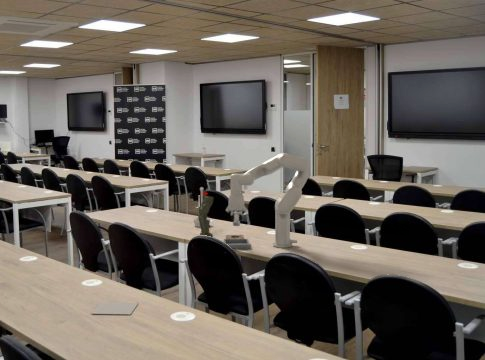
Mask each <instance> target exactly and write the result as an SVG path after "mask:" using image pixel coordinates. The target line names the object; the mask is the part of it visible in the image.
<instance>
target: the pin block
mask: <svg viewBox="0 0 485 360" xmlns="http://www.w3.org/2000/svg"><path fill="white" fill-rule="evenodd" d="M244 235H245V234H226V235H225V239H246V238H245V236H244Z"/></svg>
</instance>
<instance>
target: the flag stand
mask: <svg viewBox="0 0 485 360" xmlns="http://www.w3.org/2000/svg"><path fill="white" fill-rule="evenodd" d="M204 189H205V188H204V187H202V186H201V187H200V188H199V191H200V205H202V201H203V198H204V196H208V194H209V193H208V192H206V191H204ZM207 220H209V224H210V223H211V218H210V217H207ZM193 223H194V227H196V226H197V228H200V223H199V218H198V217H195V218H193Z"/></svg>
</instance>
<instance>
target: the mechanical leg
mask: <svg viewBox="0 0 485 360" xmlns="http://www.w3.org/2000/svg"><path fill="white" fill-rule="evenodd" d="M213 204H214V197H213V196H210V195H205V196H203V201H202V205H201V204H200V205H199V207H198V214H197V218H199V223H200V227H199V228H200V230H201V231H200V233H199V235H207V236H212V237H213V235H214V234H213V233H211V231H210V223H209V220H207V218H208V214H209V211H210V208H211V207H212V205H213Z"/></svg>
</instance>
